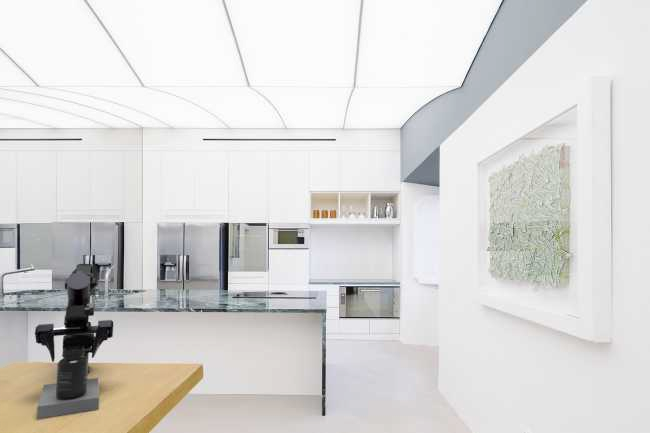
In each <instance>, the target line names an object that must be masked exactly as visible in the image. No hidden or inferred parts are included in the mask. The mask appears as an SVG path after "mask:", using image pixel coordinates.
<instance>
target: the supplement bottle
mask: <svg viewBox="0 0 650 433" xmlns="http://www.w3.org/2000/svg"><path fill="white" fill-rule="evenodd" d="M83 355H84V347H83V346H72V347H67V348H64V349H63V348H62V354H61V357H62V359H60V360H59V361H58V362H57V369H56V383H55V384H56V397H57V398H58V399H74V398H78V397H80V396H82V395H84V394H85V393H86V390H87V379H88V373H87V372H88V366H89V359H88V360H87V358H86V357H84V356H83Z"/></svg>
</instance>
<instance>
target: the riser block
mask: <svg viewBox="0 0 650 433" xmlns="http://www.w3.org/2000/svg"><path fill="white" fill-rule="evenodd" d="M99 384H100V383H99V378H98V377H97V378H96V377H95V378H89V379H88V378H87V390H86V393H85V394H84V395H82V396H80V397H78V398H74V399H58V398H57V397H56V383H50V384H49V383H48V384H43V387H42V391H41V394H40V398H39V400H38V404H37V407H36V408H37V410H36V420H42V419H48V418H54V417H59V416H66V415H72V414H77V413H78V414H79V413H83V412H84V413H85V412H90V411H97V410H99V409H100V407H99V406H100V404H99V402H100V401H99V400H100V392H99V390H100V389H99V388H100V387H99Z"/></svg>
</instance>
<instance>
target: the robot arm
mask: <svg viewBox="0 0 650 433" xmlns="http://www.w3.org/2000/svg"><path fill="white" fill-rule="evenodd" d="M68 276H69V277H68V278H67V277H66V280H65V282H64V290H66V292H67V306H66V307H65V308H66V309H65V315H64V319H63V326H64V327H57V328H55V324H54V323H43V324H38V325H36V326H35V330H34V335H35V343H37V344H38V345H39V344H41V346H42V347H43V346H44V347H46V348H47V351H48V352H49V355H50V359H51V362H55V357H56V356H55V337H58V336H59V337H60V336H63V338H62V350H63V349H64V348H67V347H72V346H83V347H84V355H83V356H84V357H86V358H87V360H88V361H89V355H90V354H89V353H91V358H92V359H93V358H95V356H96V354H97V351H98V350H99V348H100V346H101V345H102V344H103V342H105V341H107V340H108V339H111V338H113V337H114V320H112V319H106V320H105V319H104V320H103V319H102V320H98V321H97V325H92V323H91V322H90V321H89V320H90V319H89V318H90V317H91V316H92V317H93V316H94V315H95V302H94V303H93V302H92V303H91V296H93V295H94V294H95V293H96V289H97V288H96V287H99V271H98V270H97V269H95V267H94V264H91V263H79V264H76V268H75V269H74V270H73V271H71V273H70V275H68ZM89 373H90V365H88V372H87V374H89Z"/></svg>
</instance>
